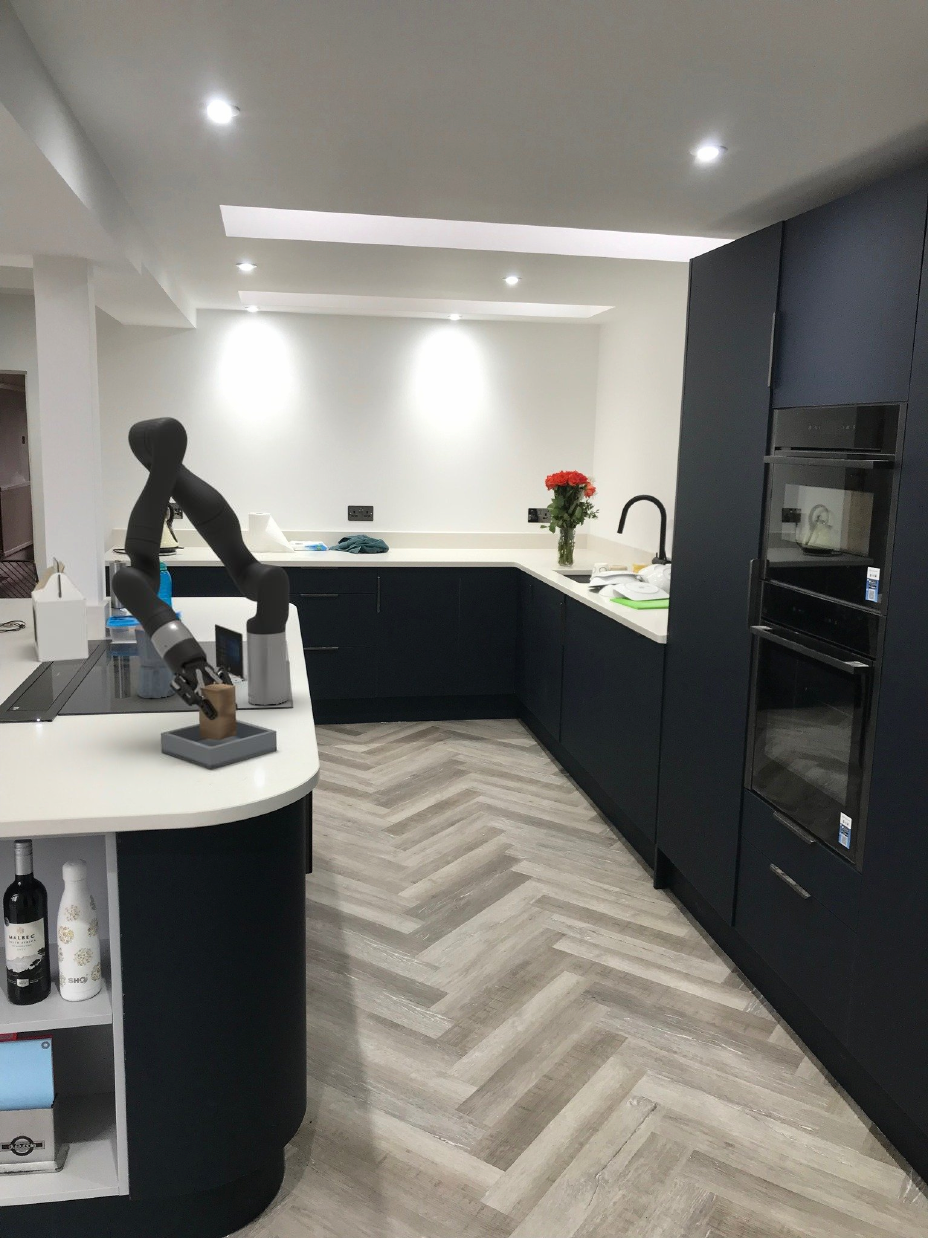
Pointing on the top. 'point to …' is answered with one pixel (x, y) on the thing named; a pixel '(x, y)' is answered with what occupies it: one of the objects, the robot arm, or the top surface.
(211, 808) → the top surface
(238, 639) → the laptop
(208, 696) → the walnut block
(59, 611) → the gable box
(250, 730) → the box
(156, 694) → the moka pot
